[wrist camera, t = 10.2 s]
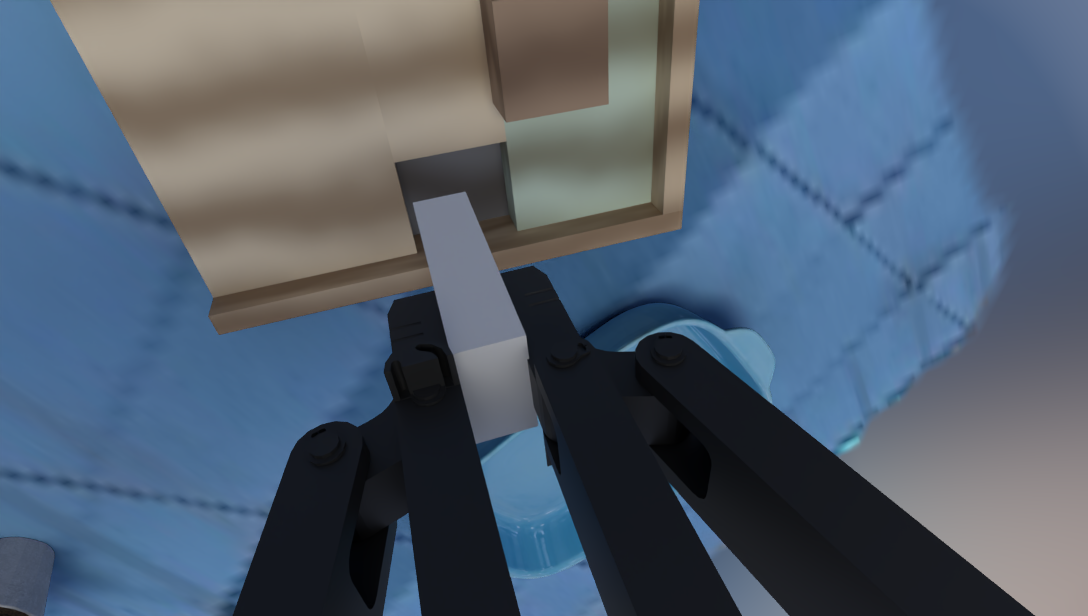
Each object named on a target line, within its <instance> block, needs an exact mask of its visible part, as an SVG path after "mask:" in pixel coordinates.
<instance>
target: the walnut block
mask: <svg viewBox="0 0 1088 616" xmlns="http://www.w3.org/2000/svg"><path fill="white" fill-rule="evenodd" d="M479 1H480V9H481V16H482V24H483V32H484V39H485V47H486V55H487V62H488V70H489V78H490V86H491V93H492V101H493V104H494V106H495V107H496V108H497V110H498V111H499V113H500V114H501V116H502V117H503V119H504V120H505V122H506V123H508V122H513V121H519V120H524V119H530V118H535V117H541V116H546V115H552V114H557V113H563V112H568V111H574V110H579V109H585V108H591V107H596V106H602V105H607V104H609V73H608V0H479Z"/></svg>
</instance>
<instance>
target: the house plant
mask: <svg viewBox="0 0 1088 616" xmlns="http://www.w3.org/2000/svg"><path fill="white" fill-rule="evenodd" d="M54 558H55V555H54V551H53V549H52V548H51V547H50V546H48V545H47V544H45V543H43V542H40V541H36V540H32V539H28V538H21V537H7V538H1V539H0V616H44V611H45V606H46V600H47V595H48V590H49V584H50V579H51V574H52V569H53V563H54Z"/></svg>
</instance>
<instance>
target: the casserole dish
mask: <svg viewBox="0 0 1088 616" xmlns="http://www.w3.org/2000/svg"><path fill="white" fill-rule="evenodd" d="M658 332H673V333H677V334H681V335H684V336H686V337H687V338H689V339H691V340H693V341H694V342H695V343H697V344H698V345H699V346H700V347H702V348H703V349H704V350H705V351H706V352H708V353H709V354H710V355H711V356H713V357H714V358H715V359H716V360H718V361H719V362H720V363H721V364H723V365H724V366H725V367H726V368H728V369H729V370H730V371H731V372H733V373H734V374H735V375H736V376H738V377H739V378H740V379H741V380H743V381H744V382H745V383H746V384H748V385H749V386H750V387H751V388H752V389H754V390H755V391H756V392H757V393H759V394H760V395H761V396H762V397H764V398H765V399H766V400H767V401H769V402H770V403H771V404H772V396H771V392H770V383H771V380H772V377H773V373H774V369H775V358H774V354H773V352H772V351H771V349H770V347H769V346H768V345H767V343H766V342H765V341H764V339H763V338H762V337H761V336H760V335H759V334H758V333H757V332H755V331H754V330H752V329H749V328H743V327H738V328H731V329H725V330H723V329H721V328H720V327H718V326H716V325H715V324H713V323H711V322H709V321H707V320H705V319H703V318H701V317H700V316H698V315H696V314H694V313H692V312H690V311H688V310H686V309H684V308H681V307H678V306H675V305H672V304H666V303H650V304H645V305H641V306H638V307H635V308H633V309H630V310H628V311H626V312H624V313H622V314H620V315H618V316H616V317H615V318H613V319H611V320H610V321H608V322H607V323H605V324H604V325H602V326H601V327H600V328H598V329H597V330H595V331H594V332H593V333H591V334H590V335H589V336H587V337H586V338H585V339H586V340H588V341H589V342H590V343H591V344H592V345H593V346H594V348H596V349H600V350H604V351H613V352H626V351H635V349H636V347H637V345H638V343H639V341H641V340H642V339H643V338H645V337H646V336H648V335H651V334H654V333H658ZM537 419H538V416H537ZM476 446H477V450H478V454H479V457H480V461H481V465H482V469H483V473H484V477H485V481H486V484H487V488H488V492H489V496H490V500H491V504H492V508H493V511H494V515H495V519H496V523H497V527H498V531H499V535H500V538H501V542H502V546H503V550H504V554H505V558H506V562H507V565H508V569H509V573H510V577H511V578H521V579H533V578H541V577H545V576H549V575H552V574H555V573H558V572H560V571H563V570H565V569H567V568H569V567H571V566H573V565H575V564H577V563H579V562H580V561H582V560H584V559H585V558H586V556H585V553H584V550H583V548H582V545H581V542H580V540H579V537H578V534H577V531H576V529H575V526H574V523H573V521H572V518H571V515H570V513H569V510H568V507H567V504H566V502H565V499H564V496H563V494H562V491H561V488H560V486H559V483H558V480H557V477H556V475H555V472H554V469H553V467H552V465H551V466H548V467H547V460H546V452H545V445H544V437H543V429H542V427H541V424H540V422H539V419H538V426H537V427H533V428H530V429H526V430H523V431H519V432H516V433H512V434H509V435H505V436H502V437H498V438H495V439H491V440H488V441H485V442H481V443H478V444H476ZM669 484H670V483H669ZM670 486H671V488H672V489H673V491H674V493H675V495H678V494H679V493H678V492H677V491H676V490H675V489H674V488H673V486H672V485H671V484H670Z"/></svg>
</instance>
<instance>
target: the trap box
mask: <svg viewBox="0 0 1088 616" xmlns="http://www.w3.org/2000/svg"><path fill="white" fill-rule="evenodd" d="M50 1H51V3H52V5H53V7H54V8H55V10H56V12H57V14H58V16H59V17H60V19H61V21H62V23H63V25H64V27H65V28H66V30H67V32H68V34H69V36H70V38H71V39H72V41H73V43H74V45H75V47H76V48H77V50H78V52H79V54H80V56H81V58H82V59H83V61H84V63H85V65H86V67H87V68H88V70H89V72H90V74H91V76H92V78H93V79H94V81H95V83H96V85H97V87H98V88H99V90H100V92H101V94H102V96H103V98H104V99H105V101H106V103H107V105H108V107H109V108H110V110H111V112H112V114H113V116H114V118H115V119H116V121H117V123H118V125H119V127H120V129H121V130H122V132H123V134H124V136H125V138H126V139H127V141H128V143H129V145H130V147H131V149H132V150H133V152H134V154H135V156H136V158H137V159H138V161H139V163H140V165H141V167H142V169H143V170H144V172H145V174H146V176H147V178H148V179H149V181H150V183H151V185H152V187H153V189H154V190H155V192H156V194H157V196H158V198H159V200H160V201H161V203H162V205H163V207H164V209H165V210H166V212H167V214H168V216H169V218H170V220H171V221H172V223H173V225H174V227H175V229H176V230H177V232H178V234H179V236H180V238H181V240H182V241H183V243H184V245H185V247H186V249H187V250H188V252H189V254H190V256H191V258H192V260H193V261H194V263H195V265H196V267H197V269H198V270H199V272H200V274H201V276H202V278H203V280H204V281H205V283H206V285H207V287H208V289H209V291H210V292H211V294H212V296H213V301H212V305H211V308H210V312H209V316H208V317H209V319H210V320H211V322H212V324H213V326H214V327H215V329H216V331H217V333H218V334H219V335H221V334H225V333H229V332H234V331H238V330H242V329H247V328H251V327H256V326H260V325H264V324H269V323H273V322H277V321H282V320H286V319H290V318H295V317H299V316H303V315H308V314H312V313H316V312H321V311H325V310H330V309H334V308H338V307H343V306H347V305H351V304H356V303H360V302H364V301H369V300H373V299H377V298H382V297H386V296H390V295H395V294H399V293H404V292H408V291H412V290H417V289H421V288H425V287H430V286H433V282H432V278H431V274H430V270H429V266H428V262H427V258H426V254H425V250H424V246H423V242H422V238H421V234H420V230H419V226H418V222H417V218H416V214H415V210H414V206H413V202H418V201H423V200H428V199H432V198H437V197H442V196H447V195H451V194H456V193H461V192H466V194H467V197H468V199H469V201H470V204H471V206H472V208H473V211H474V213H475V216H476V218H477V220H478V223H479V225H480V227H481V230H482V232H483V234H484V237H485V239H486V242H487V244H488V246H489V249H490V251H491V253H492V256H493V258H494V261H495V263H496V265H497V268H498V270H504V269H508V268H512V267H517V266H521V265H525V264H530V263H534V262H538V261H543V260H547V259H552V258H556V257H560V256H565V255H569V254H573V253H578V252H582V251H586V250H591V249H595V248H599V247H604V246H608V245H612V244H617V243H621V242H626V241H630V240H634V239H639V238H643V237H647V236H652V235H656V234H660V233H665V232H669V231H673V230H678V229H681V226H682V213H683V201H684V188H685V176H686V163H687V150H688V138H689V125H690V113H691V100H692V87H693V75H694V62H695V50H696V37H697V24H698V12H699V0H608V73H609V104H607V105H602V106H596V107H591V108H585V109H579V110H574V111H568V112H563V113H557V114H552V115H546V116H541V117H535V118H530V119H524V120H519V121H513V122H508V123H506V122H505V120H504V119H503V117H502V116H501V114H500V113H499V111H498V110H497V108H496V107H495V106H494V104H493V101H492V93H491V86H490V78H489V70H488V62H487V55H486V47H485V39H484V32H483V24H482V16H481V9H480V1H479V0H50Z"/></svg>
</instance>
